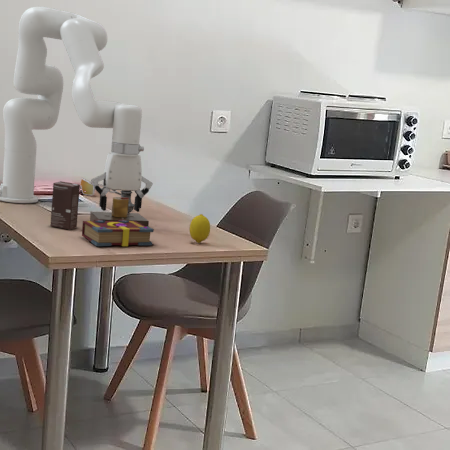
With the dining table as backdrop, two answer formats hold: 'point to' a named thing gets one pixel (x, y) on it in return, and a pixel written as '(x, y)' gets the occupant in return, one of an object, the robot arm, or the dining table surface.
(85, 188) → the sunglasses
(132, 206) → the grey textured elongated piece
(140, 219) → the lock plate
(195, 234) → the lemon
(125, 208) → the lock knob
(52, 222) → the box
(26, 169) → the robot arm
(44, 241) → the dining table surface
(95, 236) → the decorative book
